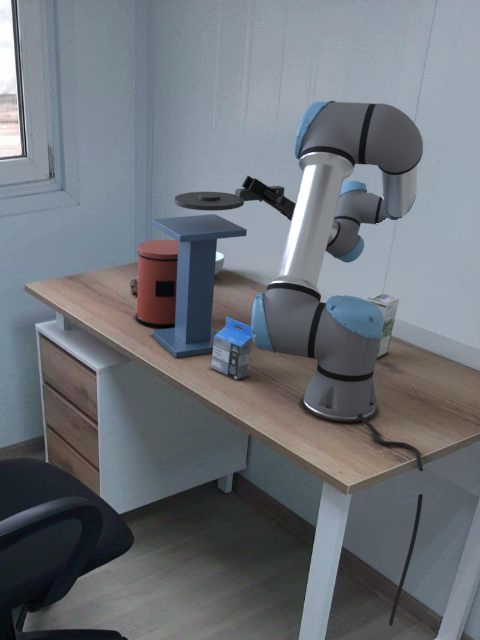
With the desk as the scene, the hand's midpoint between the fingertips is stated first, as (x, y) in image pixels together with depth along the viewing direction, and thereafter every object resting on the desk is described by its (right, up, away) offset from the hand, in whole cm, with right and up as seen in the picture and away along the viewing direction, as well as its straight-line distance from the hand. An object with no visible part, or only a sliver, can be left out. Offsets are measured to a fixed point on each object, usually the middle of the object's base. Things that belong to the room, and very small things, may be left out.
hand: (248, 182), depth 176 cm
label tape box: (-5, -45, +1) cm, 46 cm away
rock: (-21, -15, +48) cm, 55 cm away
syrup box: (+33, -39, +11) cm, 52 cm away
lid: (-4, -4, +1) cm, 6 cm away
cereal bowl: (-6, -5, +65) cm, 66 cm away
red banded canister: (-18, -25, +32) cm, 45 cm away
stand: (-12, -35, +17) cm, 41 cm away
